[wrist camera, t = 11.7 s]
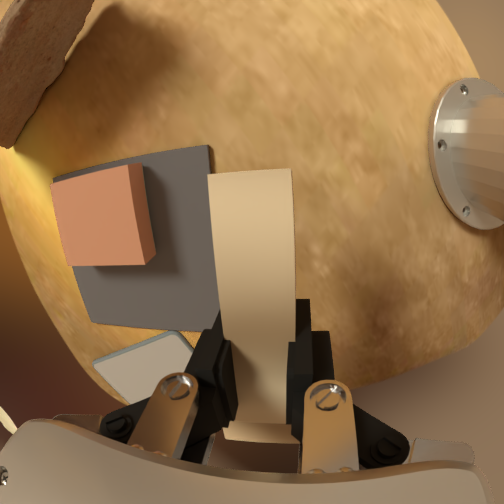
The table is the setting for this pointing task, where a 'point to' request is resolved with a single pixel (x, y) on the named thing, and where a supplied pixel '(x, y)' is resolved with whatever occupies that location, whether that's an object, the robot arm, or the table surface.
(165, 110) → the table surface
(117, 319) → the mat
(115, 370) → the smartphone
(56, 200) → the tile
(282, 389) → the turner
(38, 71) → the stone
